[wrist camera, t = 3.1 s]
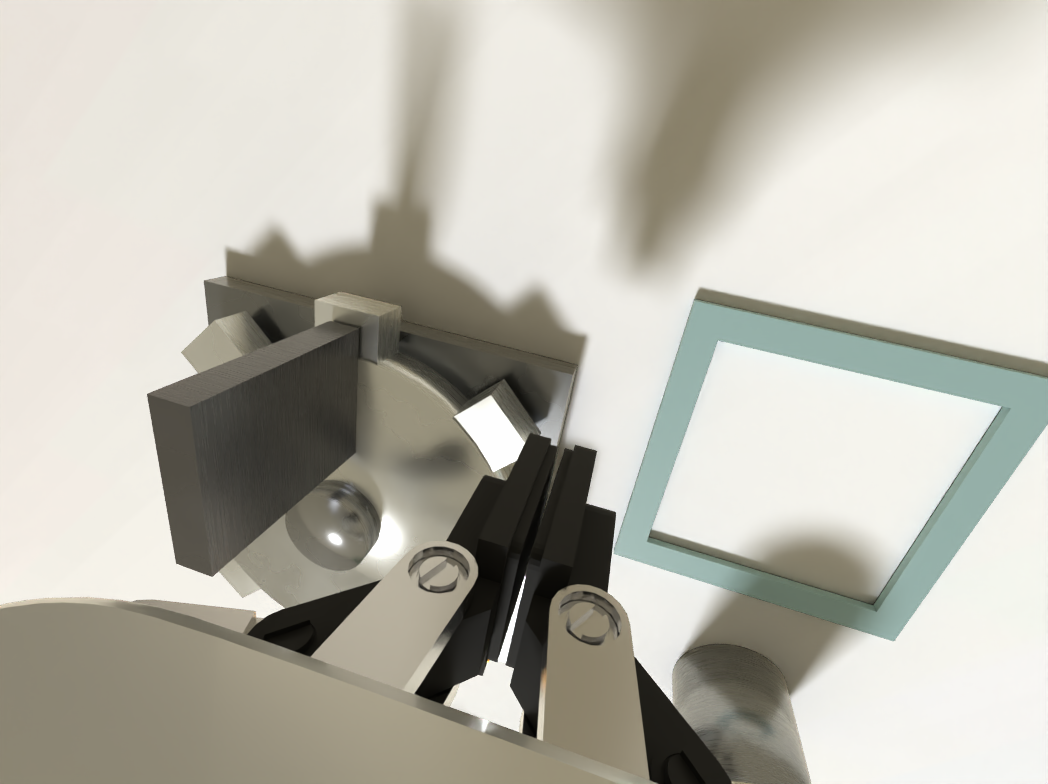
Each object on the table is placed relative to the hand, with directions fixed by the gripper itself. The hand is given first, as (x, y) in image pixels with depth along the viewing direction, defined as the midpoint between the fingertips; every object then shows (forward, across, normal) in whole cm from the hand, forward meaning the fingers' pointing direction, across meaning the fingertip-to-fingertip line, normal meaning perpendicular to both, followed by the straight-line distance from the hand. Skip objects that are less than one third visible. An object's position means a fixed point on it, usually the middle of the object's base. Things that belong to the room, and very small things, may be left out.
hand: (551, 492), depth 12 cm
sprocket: (+5, +7, +6) cm, 10 cm away
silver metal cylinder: (+6, -9, +11) cm, 15 cm away
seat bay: (+6, -8, +1) cm, 9 cm away
